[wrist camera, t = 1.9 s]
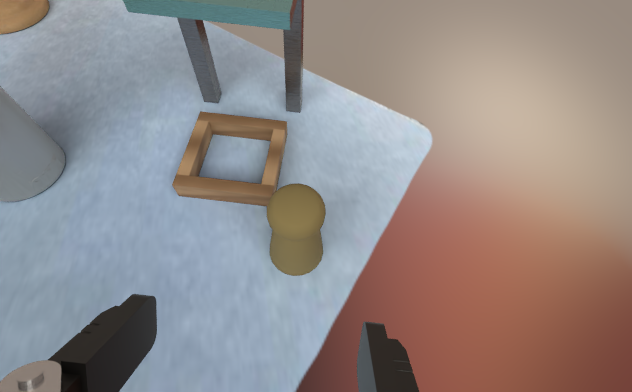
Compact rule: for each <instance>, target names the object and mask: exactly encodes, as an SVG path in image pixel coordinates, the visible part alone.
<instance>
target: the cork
mask: <svg viewBox="0 0 632 392" xmlns="http://www.w3.org/2000/svg"><path fill="white" fill-rule="evenodd" d="M325 214H326V213H325V205H324V202H323V200H322V198H321V196H320V195H319V194H318V193H317V192H316V190H314V189H313V188H311V187H309V186H307V185H303V184H289V185H286V186H283V187H281V188H280V189H278V190H277V191H276V192H275V193H274V194H273V195H272V196H271V198H270V201H269V203H268V206H267V219H268V222H269V224H270V227H271V228H272V229H273V230H272V237H271V243H270V257H271V260H272V262H273V264H274V265H275V266H276V267H277V269H279V270H280V271H282V272H283V273H285V274H289V275H292V276H297V275H304V274H306V273H309V272H311V271H312V270H313V269H315V268H316V267H317V265H318V264H319V262H320V261H321V258H322V254H323V246H322V239H321V233H320V228H321V227H322V225H323V222H324V218H325Z"/></svg>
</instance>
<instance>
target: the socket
mask: <svg viewBox="0 0 632 392" xmlns="http://www.w3.org/2000/svg"><path fill="white" fill-rule="evenodd" d="M213 134H216V135H225V136H233V137H242V138H251V139H259V140H268V141H271V143H270V147H269V151H268V156H267V160H266V165H265V169H264V174H263V178H262V183H261V184H257V183H248V182H239V181H231V180H222V179H214V178H205V177H198V176H199V173H200V170H201V167H202V164H203V161H204V158H205V155H206V152H207V150H208V147H209V144H210V141H211V138H212V135H213ZM286 138H287V122H286V121H278V120H269V119H260V118H252V117H243V116H234V115H226V114H217V113H208V112H200V114H199V116H198V119H197V122H196V124H195V127H194V129H193V132H192V135H191V137H190V140H189V142H188V145H187V148H186V150H185V153H184V155H183V158H182V161H181V163H180V166H179V168H178V171H177V174H176V176H175V179H174V181H173V184H172V185H173V187H174V189H175V190H176V192H177V194H178V195H179V196H184V197H193V198H201V199H210V200H218V201H227V202H235V203H244V204H253V205H261V206H268V203H269V201H270V198H271V196H272V195H273V194H274V193H275V192H276V189H277V184H278V179H279V174H280V169H281V164H282V159H283V154H284V148H285V143H286Z"/></svg>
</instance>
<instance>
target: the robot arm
mask: <svg viewBox="0 0 632 392" xmlns="http://www.w3.org/2000/svg"><path fill="white" fill-rule="evenodd" d="M64 166H65V154H64V152H63V150H62V149H61V148H60V147H59V146H58V145H57V144H56V143H55V142H54V141H53V140H52V138H51V137H50V136H49V135H48V134H47V133H46V132H45V131H44V130H43V129H42V128H41V127H40V126H39V125H38V124H37V123H36V122H35V121H34V120H33V119H32V118H31V117H30V116H29V115H28V114H27V113H26V112H25V111H24V110H23V109H22V108H21V107H20V106H19V105H18V104H17V103H16V102H15V101H14V99H13V98H12V97H11V96H10V95H9V94H8V93H7V92H6V91H5V90H4V89H3V88H2V87H1V86H0V201H2V202H15V201H20V200H25V199H28V198H30V197H33V196H35V195H37V194H39V193H41V192H43V191H44V190H46V189H47V188H48V187H50V186H51V185H52V184H53V183H54V182H55V181H56V180H57V179H58V177H59V176H60V174H61V173H62V171H63V169H64ZM156 334H157V317H156V299H155V297H154V296H147V295H138V294H133V295H131V296H130V297H129V298H128V299H127V300H126V301H125V302H123V303H122V304H121V305H120V306H114V307H112V308H110V309H108V310H106V311H104V312H102V313H101V314H100V315H98V316H97V317H96V318H95V319H94V320H93V321H92V322H90V325H87V326H86V327H85V328H84V329H82V330H81V333H78V334H77V335H76V336H75V337H73V338H72V339H71V340H70V341H69V342H68V343H67V344H65V345H64V346H63V347H62V348H61V349H60V350H59V351H58V352H56V353H55V354H54V355H53V356H52V357H51V358H50V359H48V360H46V361H37V362H33V363H30V364H27V365H24V366H22V367H20V368H18V369H16V370H14V371H12V372H11V373H10V374H8V375H7V376H6V377H5V378H4V379H3V380H2V381H0V392H119V391H120V389H121V388H122V387H123V385H124V384H125V383H126V381H127V380H128V379H129V377H130V376H131V375H132V373H133V372H134V371H135V369H136V368H137V367H138V365H139V364H140V363H141V361H142V360H143V359H144V357H145V356H146V355H147V353H148V352H149V351H150V349H151V348H152V346H153V344H154V342H155V339H156ZM357 377H358V387H359V392H419V390H418V387H417V383H416V380H415V377H414V374H413V371H412V367H411V364H410V361H409V358H408V355H407V352H406V349H405V348H404V347H403V346H402V345H401V343H400V342H399V341H398V340H396V339H388V338H387V334H386V331H385V326H384V324H380V323H372V322H364V323H363V327H362V333H361V339H360V345H359V351H358V359H357Z"/></svg>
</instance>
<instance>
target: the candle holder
mask: <svg viewBox="0 0 632 392" xmlns="http://www.w3.org/2000/svg"><path fill="white" fill-rule="evenodd" d="M48 10H49V2H48V0H0V34H6V33H12V32H16V31H20V30H23V29H26V28H28V27H30V26H32V25H34V24H36V23H37V22H39V21H40V20H41V19H42V18H43V17H44V16H45V15H46V14H47V12H48Z"/></svg>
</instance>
